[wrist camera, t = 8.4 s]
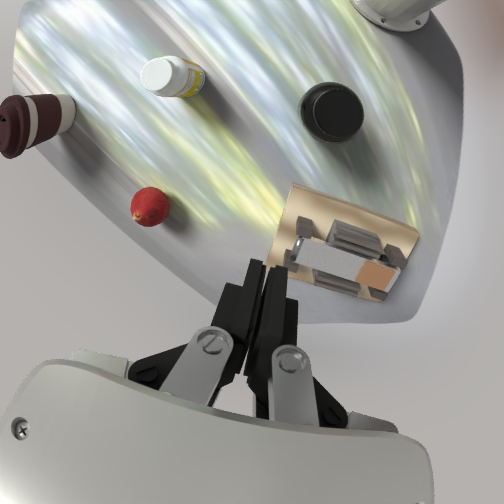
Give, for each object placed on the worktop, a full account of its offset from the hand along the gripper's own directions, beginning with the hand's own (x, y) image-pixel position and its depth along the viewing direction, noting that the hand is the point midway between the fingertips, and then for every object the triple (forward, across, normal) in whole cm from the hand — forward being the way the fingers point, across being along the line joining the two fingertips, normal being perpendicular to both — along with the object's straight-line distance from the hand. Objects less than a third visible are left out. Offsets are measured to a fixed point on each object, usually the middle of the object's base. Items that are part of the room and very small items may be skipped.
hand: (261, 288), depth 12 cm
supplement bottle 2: (+28, -3, -8) cm, 29 cm away
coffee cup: (+28, +40, -3) cm, 49 cm away
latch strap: (+23, -12, +11) cm, 28 cm away
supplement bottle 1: (+28, +16, -9) cm, 33 cm away
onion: (+28, +18, +10) cm, 34 cm away
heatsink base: (+27, -12, +11) cm, 32 cm away
